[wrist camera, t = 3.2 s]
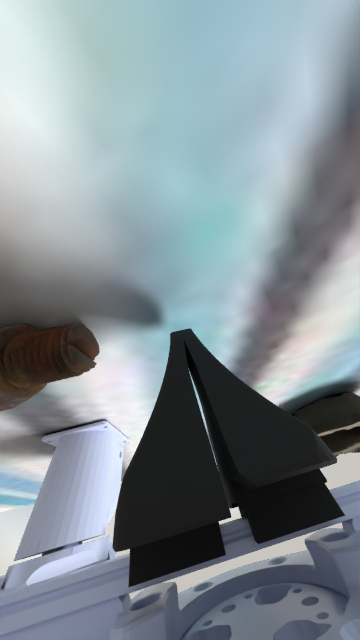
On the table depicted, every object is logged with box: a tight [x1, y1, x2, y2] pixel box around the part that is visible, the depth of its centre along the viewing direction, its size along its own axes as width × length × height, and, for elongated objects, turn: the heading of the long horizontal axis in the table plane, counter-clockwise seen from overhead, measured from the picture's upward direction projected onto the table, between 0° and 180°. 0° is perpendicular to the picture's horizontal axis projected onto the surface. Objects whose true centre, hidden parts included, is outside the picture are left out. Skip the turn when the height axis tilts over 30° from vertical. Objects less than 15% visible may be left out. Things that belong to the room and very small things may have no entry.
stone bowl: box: [294, 393, 360, 457], centre depth 32 cm, size 25×25×9 cm
